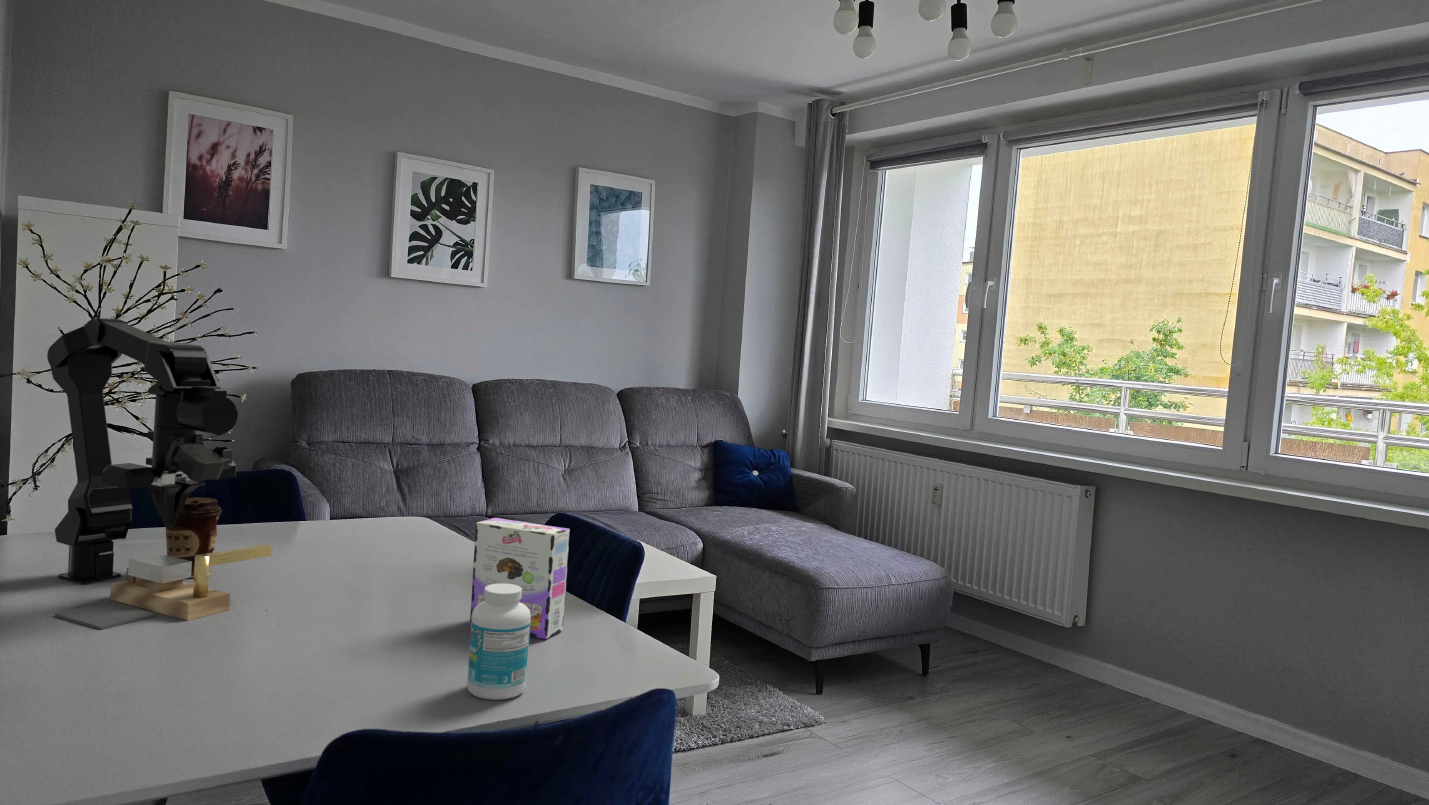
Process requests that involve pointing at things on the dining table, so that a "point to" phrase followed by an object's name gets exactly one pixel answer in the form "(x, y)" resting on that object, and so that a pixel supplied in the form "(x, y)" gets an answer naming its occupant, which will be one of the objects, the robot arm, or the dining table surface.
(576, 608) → the dining table surface
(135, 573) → the grey flat block
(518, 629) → the pill bottle
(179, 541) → the brown jar
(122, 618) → the mat
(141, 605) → the latch plate
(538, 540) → the candy box
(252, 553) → the latch lever
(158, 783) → the dining table surface
